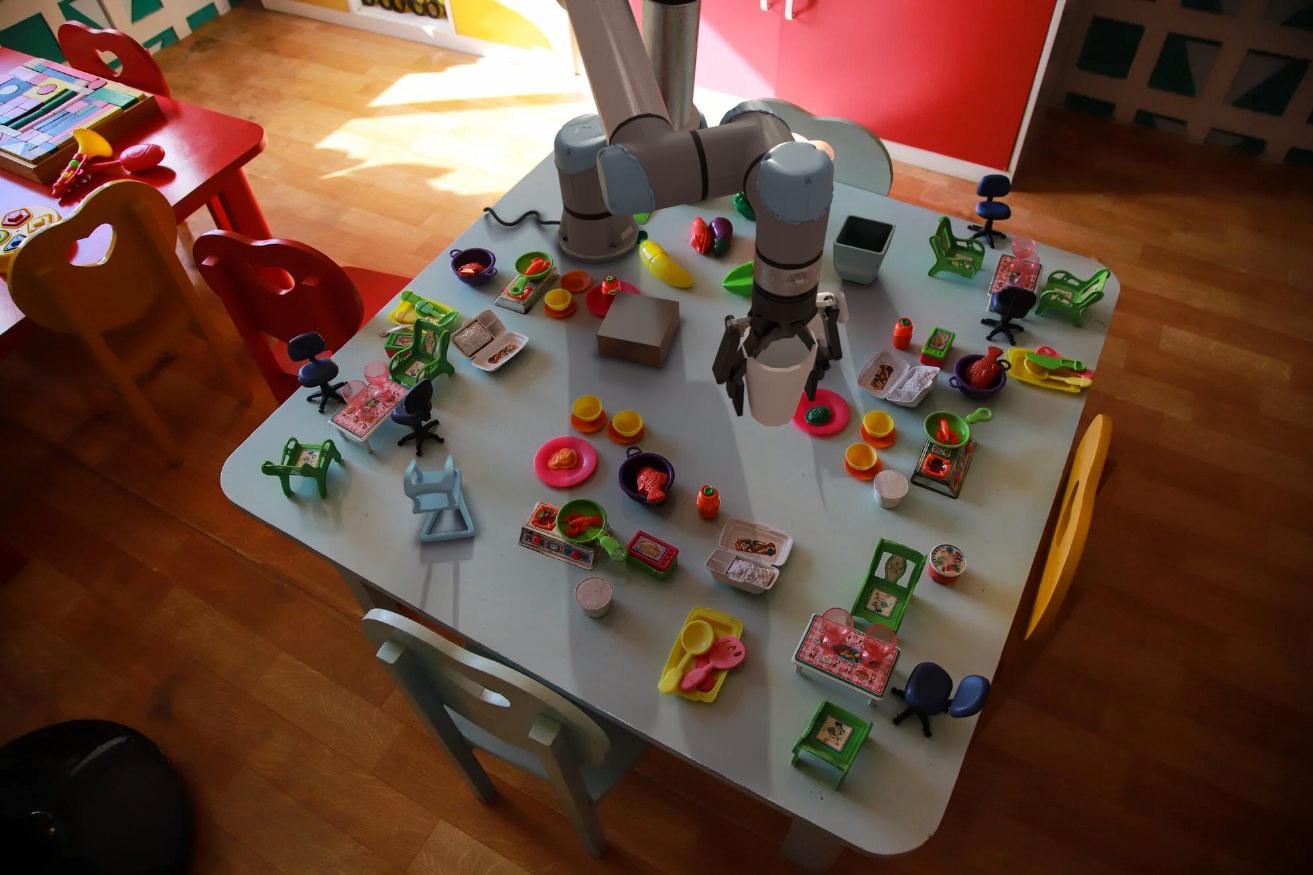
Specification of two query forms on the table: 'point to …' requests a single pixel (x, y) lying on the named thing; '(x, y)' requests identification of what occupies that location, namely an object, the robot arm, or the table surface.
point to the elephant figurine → (817, 322)
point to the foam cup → (778, 379)
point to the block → (638, 328)
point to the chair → (437, 497)
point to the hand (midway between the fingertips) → (773, 401)
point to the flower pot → (861, 248)
